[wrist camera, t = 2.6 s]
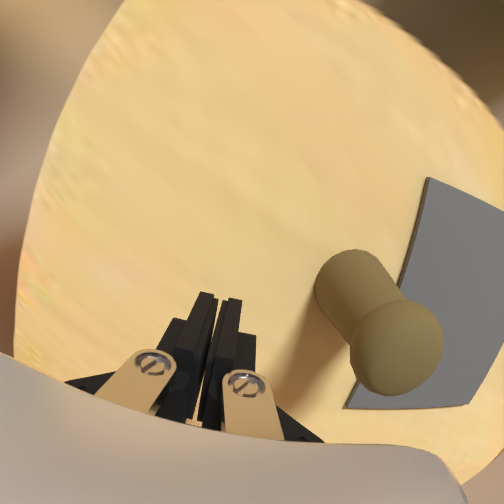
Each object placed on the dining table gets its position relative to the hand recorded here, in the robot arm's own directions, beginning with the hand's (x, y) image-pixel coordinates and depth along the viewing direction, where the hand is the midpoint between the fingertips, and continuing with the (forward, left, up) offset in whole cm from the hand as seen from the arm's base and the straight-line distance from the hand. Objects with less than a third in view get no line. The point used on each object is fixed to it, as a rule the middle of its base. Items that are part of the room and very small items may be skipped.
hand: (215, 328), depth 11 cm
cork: (0, -9, -11) cm, 14 cm away
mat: (-1, -22, -11) cm, 25 cm away
